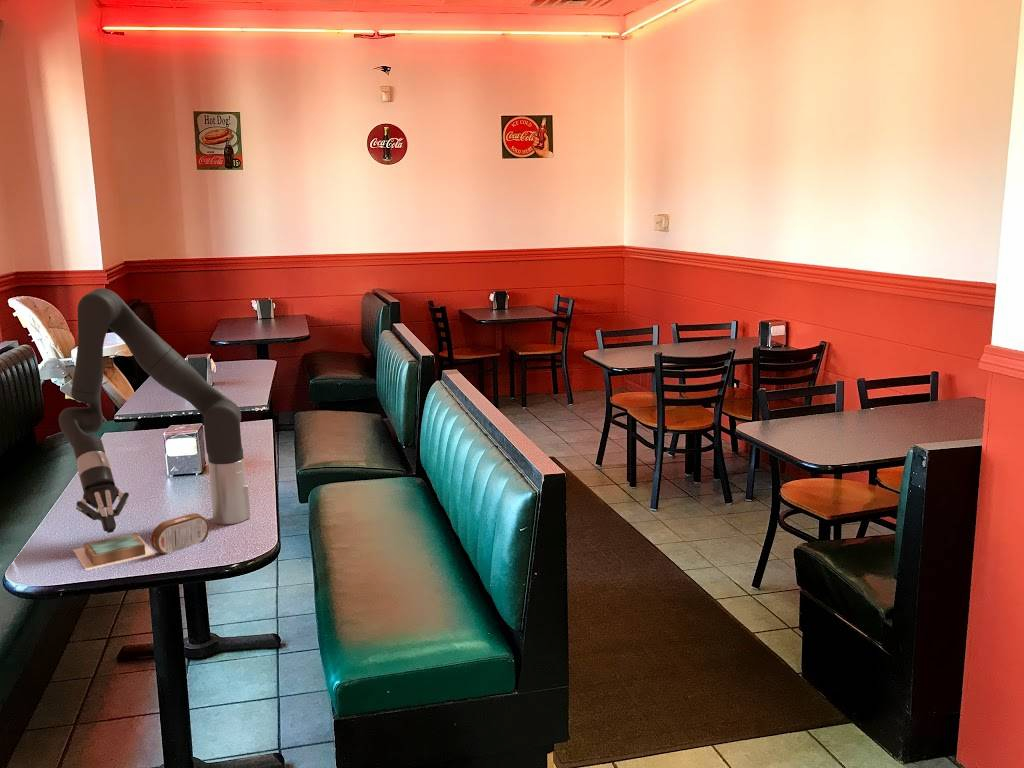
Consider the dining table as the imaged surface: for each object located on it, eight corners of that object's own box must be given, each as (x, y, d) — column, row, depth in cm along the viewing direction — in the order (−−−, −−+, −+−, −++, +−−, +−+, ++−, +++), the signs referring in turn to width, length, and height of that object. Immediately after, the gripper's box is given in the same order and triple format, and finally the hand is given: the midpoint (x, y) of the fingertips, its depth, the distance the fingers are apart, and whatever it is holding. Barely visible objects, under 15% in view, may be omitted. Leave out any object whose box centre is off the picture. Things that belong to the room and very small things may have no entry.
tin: (205, 539, 233) (202, 508, 232) (212, 542, 231) (209, 511, 230) (151, 557, 222) (148, 525, 220) (158, 560, 220) (155, 527, 218)
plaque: (134, 532, 229) (144, 544, 221) (135, 542, 230) (145, 554, 222) (83, 543, 222) (92, 555, 215) (85, 553, 223) (93, 566, 215)
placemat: (139, 537, 235) (139, 535, 234) (155, 556, 222) (155, 554, 222) (73, 551, 225) (72, 549, 225) (86, 572, 213) (86, 570, 213)
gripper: (68, 470, 224) (83, 530, 217) (123, 460, 232) (140, 518, 224) (66, 484, 229) (81, 544, 222) (120, 475, 237) (136, 532, 230)
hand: (110, 531), depth 223 cm, fingers closed
